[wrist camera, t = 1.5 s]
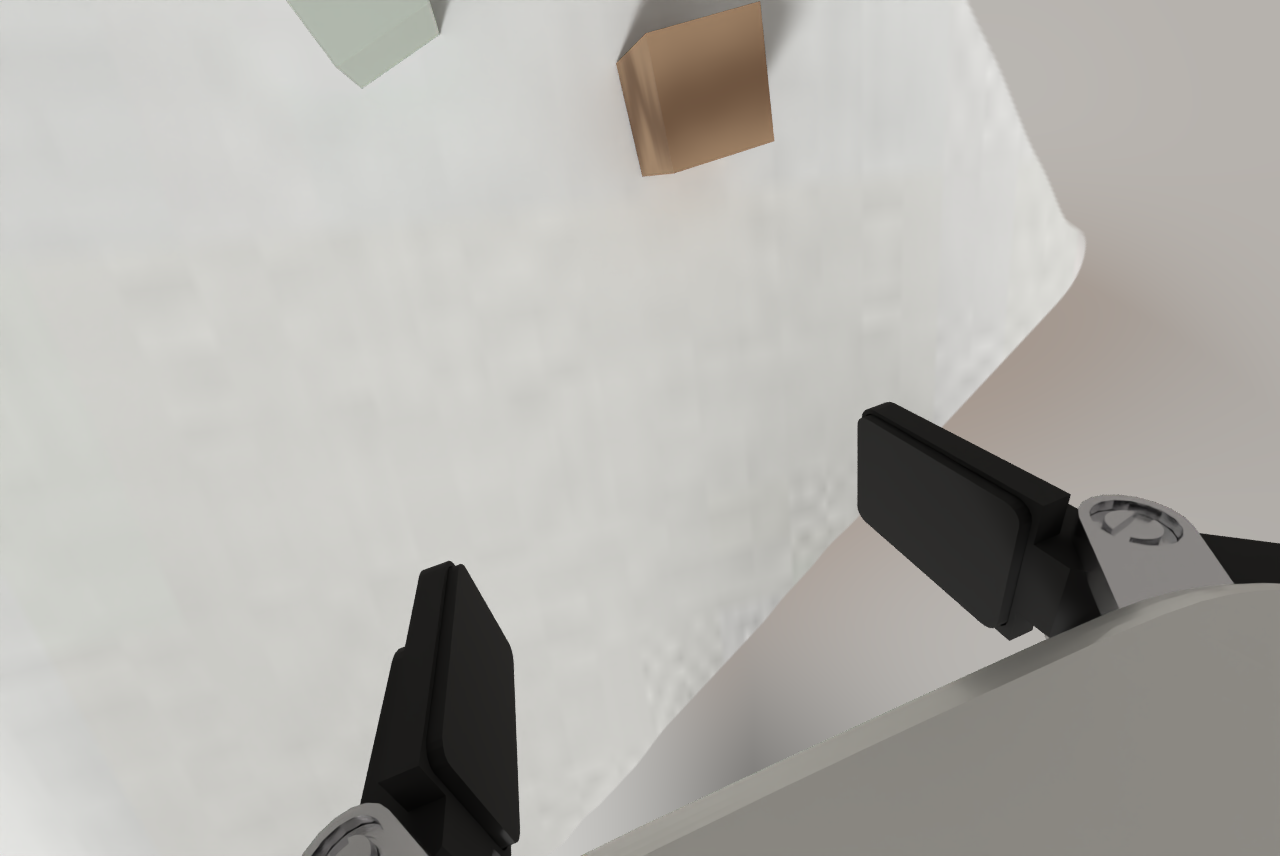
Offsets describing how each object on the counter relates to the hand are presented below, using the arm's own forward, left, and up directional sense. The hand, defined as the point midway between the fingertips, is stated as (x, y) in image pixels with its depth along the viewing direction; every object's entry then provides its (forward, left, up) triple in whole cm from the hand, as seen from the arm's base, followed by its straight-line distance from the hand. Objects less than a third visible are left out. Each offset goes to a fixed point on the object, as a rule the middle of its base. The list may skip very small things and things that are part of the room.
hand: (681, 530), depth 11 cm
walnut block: (-9, +11, -25) cm, 29 cm away
